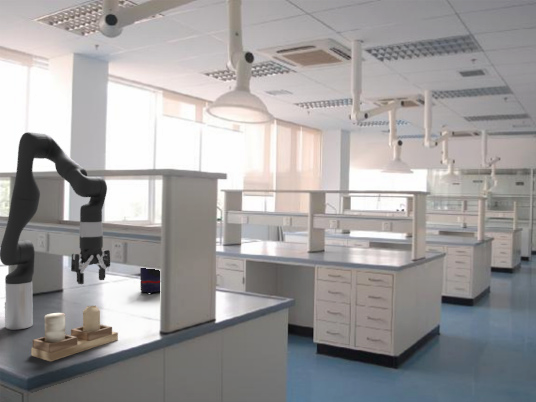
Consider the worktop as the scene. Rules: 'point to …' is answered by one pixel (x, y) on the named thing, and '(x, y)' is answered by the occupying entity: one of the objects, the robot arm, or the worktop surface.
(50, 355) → the wooden double holder
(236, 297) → the worktop surface
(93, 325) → the candle
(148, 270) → the navy upright block
